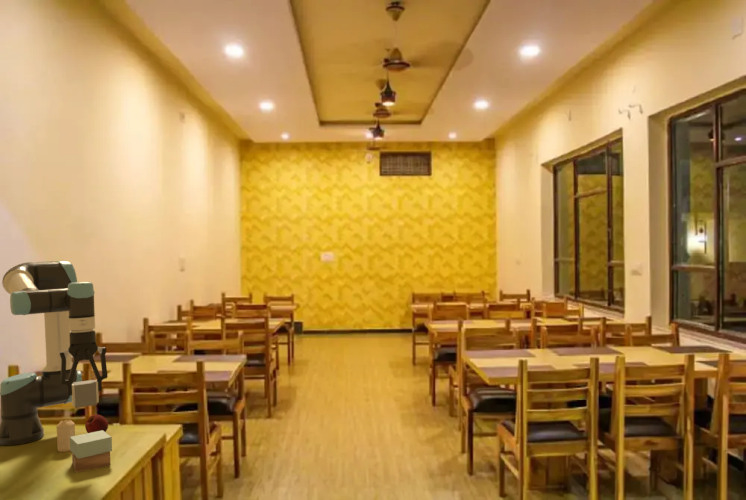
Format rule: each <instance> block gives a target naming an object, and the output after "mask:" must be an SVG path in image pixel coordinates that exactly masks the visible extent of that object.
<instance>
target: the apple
mask: <svg viewBox="0 0 746 500" xmlns="http://www.w3.org/2000/svg"><path fill="white" fill-rule="evenodd" d="M84 427H85V431H86V432H87V433H92V432H97V431H101V430H103V431H104V432H106V433H107V431H108V428H109V421H108V420H107V419H106V417H104V416H103V415H101V414H92V415H90V416H89V417H88V418H87V420H86V422H85V425H84ZM87 433H86V434H87Z"/></svg>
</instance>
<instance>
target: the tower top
mask: <svg viewBox="0 0 746 500" xmlns="http://www.w3.org/2000/svg"><path fill="white" fill-rule="evenodd" d="M112 440H113V439H112V436H111V435H110V434H108V433H107V431H106V432H104V431H103V430H101V431H97V432H92V433H83V434H77V435H75V436H72V437H70V451H69V452H71V454H72V453H73V454H74V455H75V456H76V457H77V458H78V459H79V458H84V457H88V456H93V455H97V454H102V453H106V452H110V453H111V452H113V443H112V442H113V441H112Z"/></svg>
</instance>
